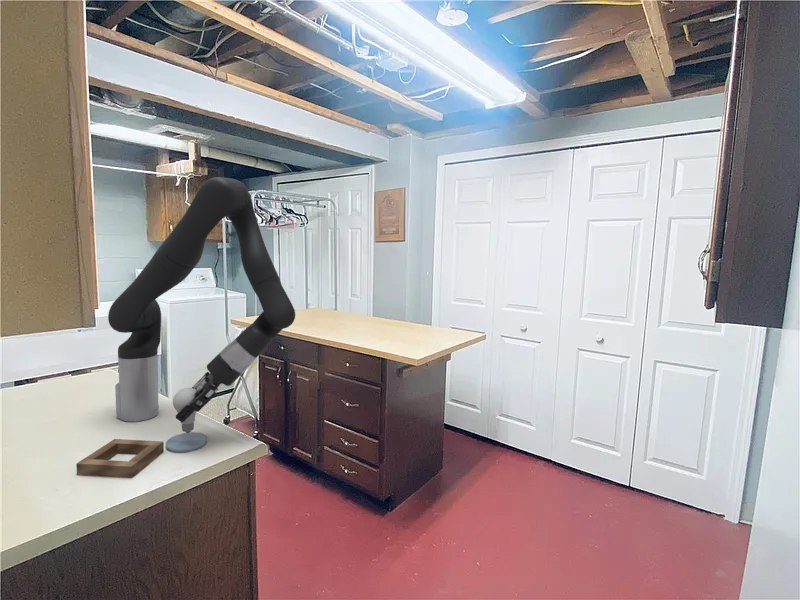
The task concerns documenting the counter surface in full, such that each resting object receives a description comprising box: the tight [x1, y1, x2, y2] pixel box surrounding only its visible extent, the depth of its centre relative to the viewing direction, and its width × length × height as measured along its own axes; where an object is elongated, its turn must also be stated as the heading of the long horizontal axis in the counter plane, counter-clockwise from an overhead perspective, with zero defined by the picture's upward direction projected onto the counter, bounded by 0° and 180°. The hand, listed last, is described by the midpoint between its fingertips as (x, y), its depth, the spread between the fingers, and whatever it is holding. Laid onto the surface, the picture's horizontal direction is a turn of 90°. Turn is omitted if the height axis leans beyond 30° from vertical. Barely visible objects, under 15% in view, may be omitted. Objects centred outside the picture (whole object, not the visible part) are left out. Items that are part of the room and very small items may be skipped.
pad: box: [165, 431, 208, 454], centre depth 104 cm, size 9×9×1 cm
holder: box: [76, 438, 165, 479], centre depth 94 cm, size 12×12×2 cm
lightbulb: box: [172, 387, 200, 433], centre depth 103 cm, size 6×6×11 cm
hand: (179, 414), depth 102 cm, fingers closed on lightbulb, 6 cm apart
